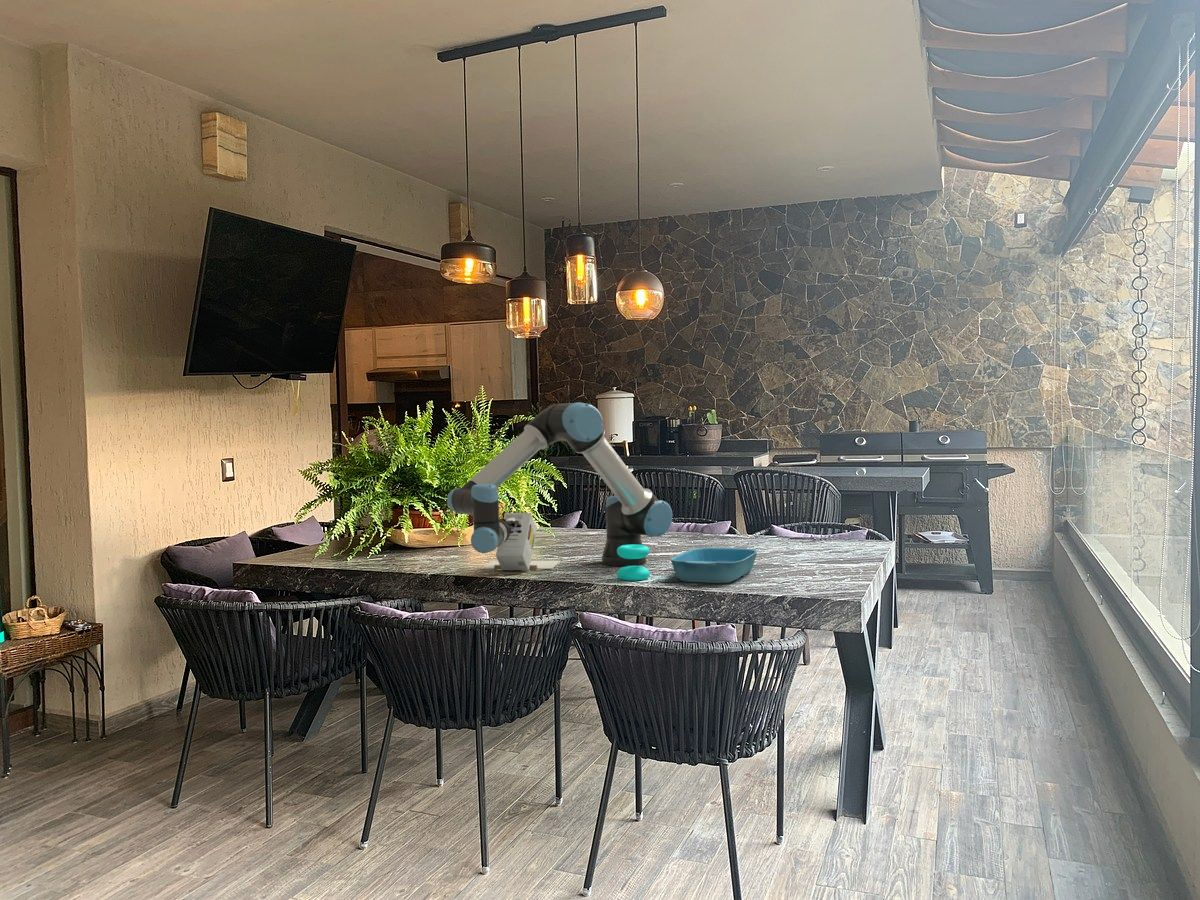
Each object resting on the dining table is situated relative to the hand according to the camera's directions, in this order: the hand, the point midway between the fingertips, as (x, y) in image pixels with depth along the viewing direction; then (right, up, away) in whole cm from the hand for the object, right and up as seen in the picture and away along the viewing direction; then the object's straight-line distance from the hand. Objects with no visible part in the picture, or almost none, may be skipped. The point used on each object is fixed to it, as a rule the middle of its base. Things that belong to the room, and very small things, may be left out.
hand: (512, 521), depth 304 cm
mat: (+2, -16, +11) cm, 19 cm away
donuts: (+38, -16, -17) cm, 45 cm away
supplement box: (0, -13, -3) cm, 14 cm away
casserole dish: (+64, -16, -14) cm, 67 cm away
